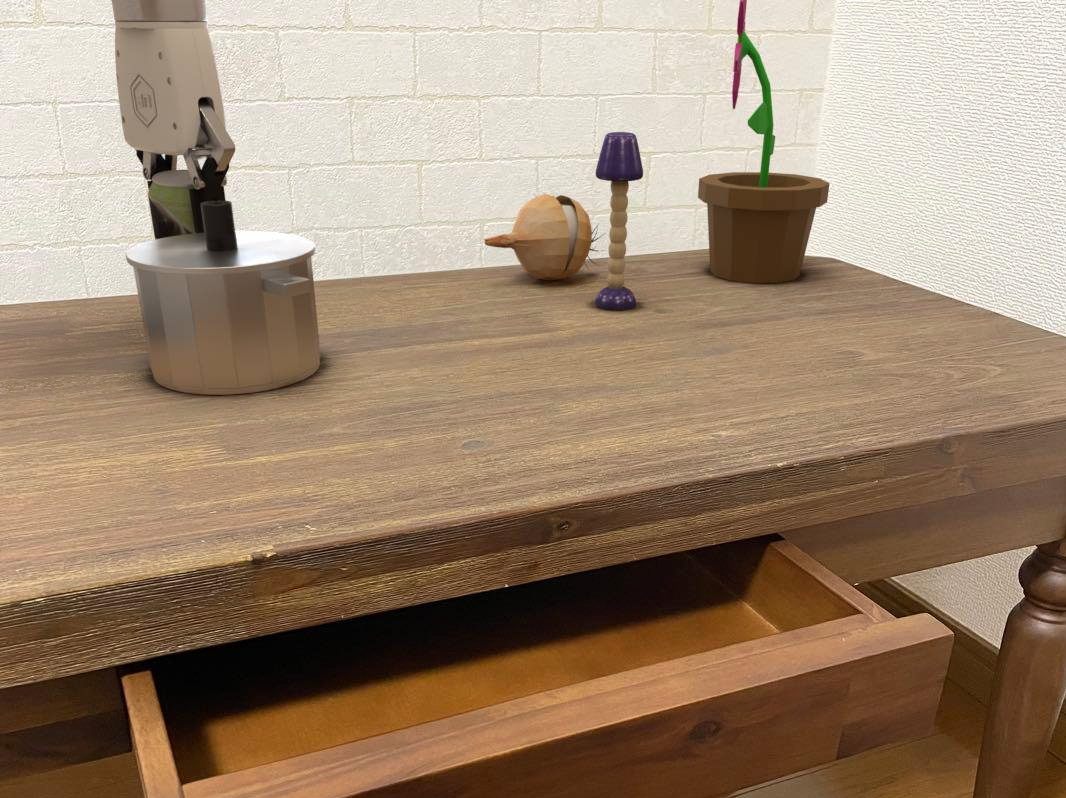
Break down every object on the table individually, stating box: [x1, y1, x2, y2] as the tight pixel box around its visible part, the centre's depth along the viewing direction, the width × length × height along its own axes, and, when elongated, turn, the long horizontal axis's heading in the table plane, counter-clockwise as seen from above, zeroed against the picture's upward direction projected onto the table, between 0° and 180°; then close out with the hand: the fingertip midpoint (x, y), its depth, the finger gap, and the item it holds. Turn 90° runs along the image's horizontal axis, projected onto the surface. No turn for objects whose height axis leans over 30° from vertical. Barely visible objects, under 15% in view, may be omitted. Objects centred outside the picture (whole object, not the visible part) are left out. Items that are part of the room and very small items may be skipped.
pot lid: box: [125, 200, 316, 275], centre depth 83 cm, size 15×15×5 cm
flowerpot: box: [697, 0, 831, 284], centre depth 114 cm, size 14×14×30 cm
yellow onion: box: [483, 193, 606, 282], centre depth 115 cm, size 9×9×15 cm
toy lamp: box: [594, 131, 644, 311], centre depth 103 cm, size 5×5×17 cm
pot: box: [132, 256, 322, 396], centre depth 86 cm, size 14×19×10 cm
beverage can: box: [147, 169, 196, 240], centre depth 97 cm, size 6×7×12 cm
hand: (191, 226), depth 96 cm, fingers closed on beverage can, 6 cm apart
